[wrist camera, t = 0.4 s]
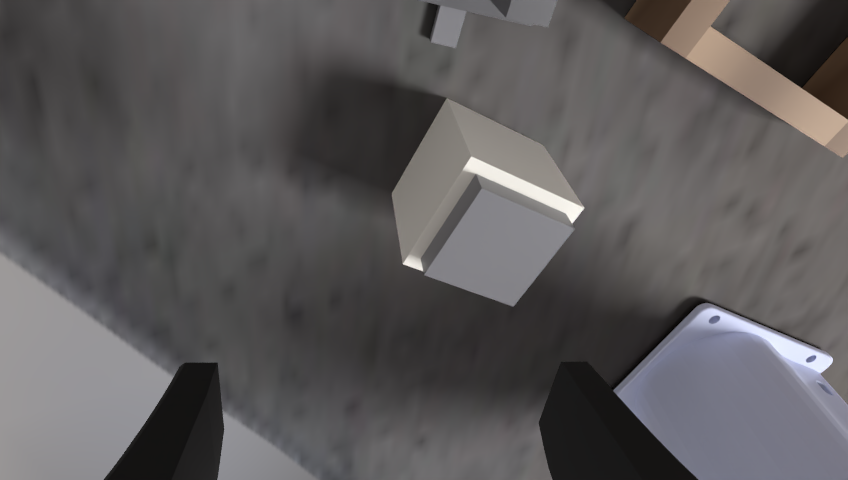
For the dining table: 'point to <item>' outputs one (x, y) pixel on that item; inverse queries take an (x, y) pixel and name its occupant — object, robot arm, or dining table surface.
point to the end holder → (752, 68)
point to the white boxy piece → (482, 206)
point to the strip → (447, 26)
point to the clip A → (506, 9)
